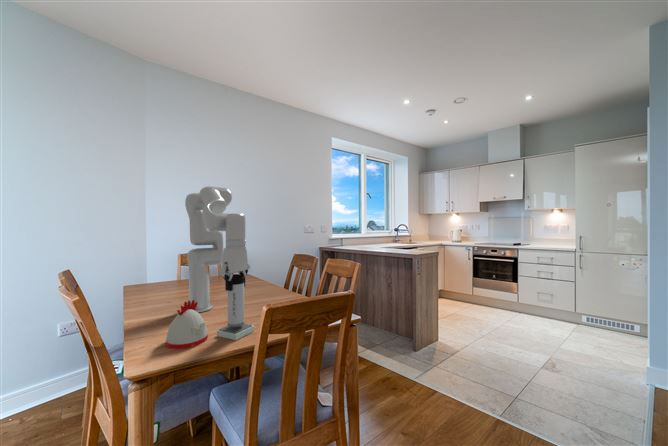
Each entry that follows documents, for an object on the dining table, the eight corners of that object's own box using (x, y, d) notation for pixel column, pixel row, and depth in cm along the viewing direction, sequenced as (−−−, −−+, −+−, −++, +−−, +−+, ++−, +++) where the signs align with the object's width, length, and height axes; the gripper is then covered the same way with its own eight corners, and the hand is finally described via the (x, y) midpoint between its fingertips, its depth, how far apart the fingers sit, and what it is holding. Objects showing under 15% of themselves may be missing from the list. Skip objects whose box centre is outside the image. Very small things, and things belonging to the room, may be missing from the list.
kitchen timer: (215, 337, 108) (215, 298, 109) (184, 351, 96) (184, 308, 96) (190, 331, 114) (190, 295, 114) (157, 345, 101) (157, 304, 101)
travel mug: (236, 320, 116) (236, 272, 116) (247, 323, 113) (247, 274, 113) (223, 325, 111) (223, 275, 111) (234, 328, 107) (234, 276, 108)
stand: (216, 336, 109) (216, 329, 109) (235, 327, 118) (235, 321, 118) (236, 340, 105) (236, 333, 105) (254, 331, 114) (253, 325, 114)
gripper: (243, 242, 121) (243, 283, 121) (211, 245, 106) (211, 292, 106) (257, 243, 118) (257, 285, 118) (226, 245, 102) (226, 294, 102)
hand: (235, 288), depth 112 cm, fingers closed on travel mug, 6 cm apart
